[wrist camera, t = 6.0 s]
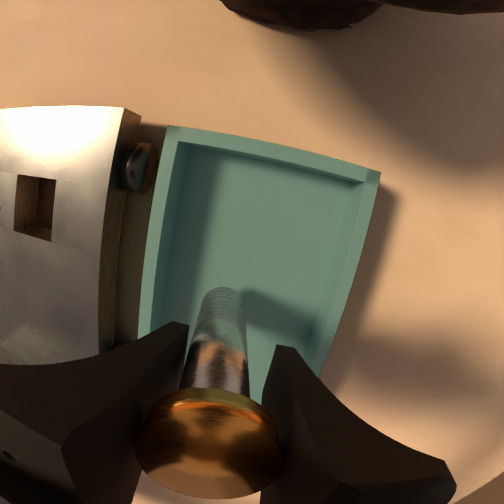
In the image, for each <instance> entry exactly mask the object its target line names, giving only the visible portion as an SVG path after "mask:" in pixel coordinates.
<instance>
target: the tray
mask: <svg viewBox="0 0 504 504" xmlns="http://www.w3.org/2000/svg"><path fill="white" fill-rule="evenodd" d="M380 175H381V172H378V171H375V170H372V169H369V168H365V167H362V166H359V165H355V164H352V163H349V162H345V161H342V160H338V159H335V158H331V157H327V156H324V155H320V154H316V153H312V152H308V151H304V150H300V149H296V148H292V147H288V146H283V145H279V144H274V143H270V142H265V141H260V140H255V139H250V138H245V137H240V136H235V135H229V134H224V133H218V132H212V131H206V130H199V129H193V128H186V127H178V126H170V125H168V127H167V131H166V135H165V140H164V144H163V149H162V154H161V159H160V163H159V169H158V174H157V179H156V184H155V190H154V196H153V202H152V208H151V214H150V221H149V227H148V235H147V242H146V250H145V258H144V267H143V276H142V286H141V297H140V309H139V324H138V339H139V338H141V337H143V336H145V335H147V334H149V333H151V332H153V331H155V330H156V329H158V328H160V327H162V326H164V325H165V324H167V323H169V322H171V321H175V322H179V323H183V324H187V325H190V326H189V333H188V340H187V347H186V354H185V362H186V358H187V354H188V350H189V347H190V343H191V339H192V336H193V332H194V328H195V325H196V321H197V318H198V314H199V310H200V307H201V303H202V300H203V298H204V296H205V295H206V294H207V293H208V292H209V291H210V290H212V289H214V288H217V287H228V288H232V289H234V290H236V291H237V292H238V293H239V294H240V295H241V296H242V298H243V300H244V302H245V312H246V331H247V350H248V368H249V385H250V399H252V400H254V401H256V402H257V403H259V404H260V405H261V401H262V391H263V387H264V384H265V381H266V377H267V374H268V371H269V368H270V364H271V361H272V358H273V354H274V351H275V348H276V344H278V345H284V346H289V347H294V348H295V349H296V350H297V351H298V353H299V354H300V355H301V357H302V358H303V359H304V361H305V362H306V363H307V365H308V366H309V367H310V369H311V370H312V371H313V372H314V374H315V375H316V376H317V377H318V378H319V376H320V373H321V371H322V368H323V366H324V363H325V361H326V358H327V356H328V353H329V350H330V348H331V345H332V342H333V339H334V337H335V334H336V331H337V328H338V325H339V322H340V320H341V317H342V314H343V311H344V308H345V305H346V302H347V299H348V296H349V292H350V289H351V286H352V283H353V280H354V276H355V273H356V270H357V266H358V263H359V259H360V256H361V252H362V249H363V245H364V241H365V238H366V234H367V230H368V226H369V222H370V218H371V214H372V210H373V206H374V202H375V198H376V193H377V189H378V184H379V180H380ZM185 362H184V365H185ZM179 385H180V384H179ZM178 389H179V387H178ZM178 389H177V390H178Z"/></svg>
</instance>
